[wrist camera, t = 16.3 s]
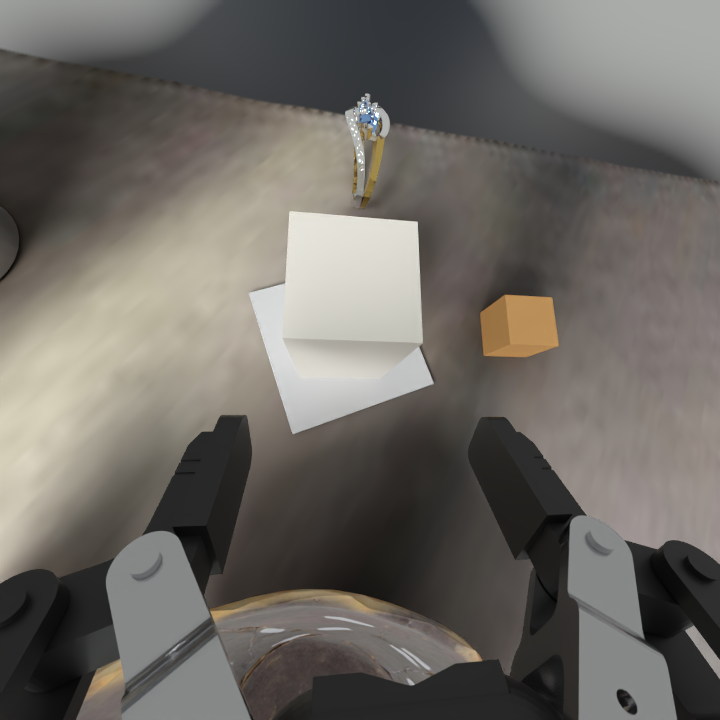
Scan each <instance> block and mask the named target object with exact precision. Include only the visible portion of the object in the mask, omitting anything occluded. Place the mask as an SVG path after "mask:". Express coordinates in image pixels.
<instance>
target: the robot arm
mask: <svg viewBox="0 0 720 720" xmlns="http://www.w3.org/2000/svg"><path fill="white" fill-rule="evenodd" d="M18 248H19V234H18V229H17V226H16V224H15V222H14V220H13V218H12V217H11V216H10V215H9V213H8V212H7V211H6V210H5V209H4V208H2V207H1V206H0V278H1V277H2V276H3V275H4V274H5V273H6V272H7V271H8V270H9V268H10V266H11V265H12V263H13V262H14V260H15V257H16V254H17V251H18ZM468 456H469V461H470V464H471V466H472V469H473V471H474V473H475V475H476V477H477V479H478V481H479V484H480V486H481V488H482V490H483V492H484V494H485V496H486V498H487V501H488V503H489V505H490V507H491V509H492V511H493V513H494V516H495V518H496V520H497V522H498V524H499V526H500V528H501V531H502V533H503V535H504V537H505V539H506V541H507V543H508V546H509V548H510V550H511V552H512V554H513V556H514V558H515V560H521V559H530V560H531V562H532V564H533V566H534V568H533V569H532V571H531V574H530V582H529V589H528V597H527V604H526V612H525V619H524V627H523V634H522V639H521V642H520V645H519V648H518V650H517V652H516V654H515V657H514V660H513V664H512V668H511V673H510V676H508V675H506V674H503V671H502V668H501V665H500V662H499V659H498V660H487V661H476V662H466V663H455V664H453V665H451V666H450V667H448V668H446V669H444V670H442V671H440V672H438V673H436V674H434V675H433V676H431V677H429V678H427V679H425V680H423V681H421V682H419V683H417V684H415V685H405V684H402V683H398V682H394V681H391V680H387V679H383V678H380V677H376V676H373V675H369V674H365V673H362V672H359V673H348V674H337V675H327V676H316V677H313V687H312V689H310V690H308V691H306V692H304V693H302V694H300V695H299V696H297V697H296V698H295V699H293V700H292V701H290V702H289V703H288V704H287V705H286V706H284V707H283V708H282V709H281V710H280V711H279V712H278V713H277V714H276V715H275V716H274V717H273V719H272V720H720V679H719V678H718V676H717V675H716V673H715V672H714V671H713V669H712V668H711V666H710V665H709V664H708V662H707V661H706V659H705V658H704V657H703V655H702V654H701V652H700V651H699V650H698V648H697V647H696V645H695V644H694V643H693V641H692V640H691V638H690V637H689V636H688V634H687V633H686V632H685V630H686V629H688V628H690V627H692V626H693V625H694V626H695V627H696V628H697V630H698V631H699V632H700V634H701V635H702V636H703V638H704V639H705V640H706V642H707V643H708V644H709V646H710V647H711V649H712V650H713V651H714V653H715V654H716V655H717V657H718V658H719V659H720V564H718V563H717V562H716V561H715V560H714V559H713V558H711V557H710V556H709V555H707V554H706V553H704V552H703V551H701V550H700V549H698V548H696V547H694V546H692V545H690V544H687V543H685V542H681V541H676V540H671V541H667V542H666V543H665V544H664V545H662V546H661V547H660V548H659V549H658V550H657V549H654V548H650V547H647V546H643V545H639V544H636V543H632V542H629V541H625V540H624V539H623V538H622V537H621V536H620V535H619V534H618V533H617V532H616V531H615V530H614V529H612V528H611V527H610V526H609V525H607V524H605V523H604V522H602V521H600V520H598V519H596V518H593V517H590V516H587V515H586V514H585V513H584V512H583V510H582V509H581V507H580V506H579V505H578V503H577V502H576V501H575V499H574V498H573V496H572V495H571V494H570V492H569V491H568V490H567V488H566V487H565V485H564V484H563V483H562V481H561V480H560V479H559V477H558V476H557V474H556V473H555V472H554V470H551V466H550V465H549V463H548V462H547V461H546V459H544V458H543V455H542V454H541V452H540V451H539V450H538V448H537V447H536V446H535V444H534V443H533V442H532V441H530V440H529V439H528V438H527V437H526V436H524V435H523V434H522V433H521V432H516V431H515V429H514V428H513V426H512V425H511V424H510V422H509V421H508V420H507V419H506V418H505V417H482V418H481V419H480V420H479V422H478V425H477V427H476V430H475V432H474V435H473V438H472V440H471V443H470V445H469V449H468ZM251 458H252V446H251V439H250V433H249V426H248V420H247V416H246V415H221V416H220V417H219V419H218V422H217V424H216V426H215V429H214V431H213V432H201V433H200V434H199V435H198V436H197V437H196V438H195V439H194V440H193V441H192V442H191V443H190V444H189V445H188V447H187V449H186V451H185V453H184V455H183V457H182V459H181V463H179V465H178V467H177V469H176V471H175V475H174V476H173V477H172V479H171V481H170V483H169V485H168V487H167V489H166V491H165V493H164V495H163V497H162V499H161V501H160V503H159V505H158V507H157V509H156V511H155V513H154V515H153V517H152V519H151V521H150V523H149V525H148V527H147V529H146V530H145V532H144V533H143V535H142V536H141V537H139V538H137V539H135V540H134V541H132V542H131V543H130V544H128V545H127V546H126V547H125V548H124V549H123V550H122V551H121V552H120V553H119V554H118V555H117V556H116V557H115V558H113V559H111V560H109V561H107V562H104V563H102V564H99V565H96V566H93V567H90V568H87V569H84V570H81V571H78V572H76V573H73V574H70V575H67V576H64V577H61V578H57V577H56V575H54V574H53V573H52V572H50V571H48V570H43V569H36V570H31V571H27V572H23V573H21V574H18V575H16V576H13V577H11V578H10V579H8V580H6V581H4V582H2V583H1V584H0V720H76V718H77V716H78V714H79V711H80V709H81V706H82V704H83V701H84V699H85V697H86V694H87V692H88V689H89V687H90V684H91V682H92V680H93V677H94V675H95V672H96V670H97V669H98V668H100V667H103V666H105V665H107V664H109V663H111V662H114V661H116V660H118V659H120V660H121V665H122V670H123V675H124V681H125V693H124V695H123V696H122V700H121V716H122V720H254V718H253V715H252V713H251V710H250V708H249V705H248V703H247V700H246V698H245V695H244V693H243V691H242V688H241V686H240V683H239V681H238V678H237V676H236V674H235V671H234V669H233V666H232V664H231V662H230V659H229V657H228V654H227V652H226V649H225V647H224V644H223V642H222V639H221V637H220V634H219V632H218V629H217V627H216V624H215V622H214V619H213V617H212V614H211V612H210V609H209V607H208V605H207V602H206V600H205V597H204V593H205V589H206V586H207V582H208V579H209V575H213V574H222V573H223V569H224V566H225V562H226V558H227V554H228V550H229V546H230V543H231V539H232V535H233V531H234V527H235V523H236V519H237V516H238V512H239V508H240V504H241V500H242V496H243V492H244V489H245V485H246V481H247V477H248V473H249V469H250V465H251Z"/></svg>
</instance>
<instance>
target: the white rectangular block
mask: <svg viewBox="0 0 720 720" xmlns="http://www.w3.org/2000/svg"><path fill="white" fill-rule="evenodd" d="M282 339H283V341H284V343H285V345H286V348H287V350H288V352H289V354H290V357H291V359H292V361H293V363H294V365H295V368H296V370H297V372H298V374H299V376H300V377H307V378H355V379H380V378H382V377H383V376H384V375H385V374H386V373H388V372H389V371H390V370H391V369H392V368H394V367H395V366H396V365H397V364H398V363H400V362H401V361H402V360H403V359H404V358H405V357H407V356H408V355H409V354H410V353H411V352H413V351H414V350H415V349H416V348H417V347H419V346H420V345H421V344H422V343H423V336H422V313H421V289H420V266H419V243H418V222H414V221H402V220H389V219H377V218H365V217H353V216H341V215H329V214H316V213H304V212H292V211H290V213H289V230H288V247H287V264H286V281H285V298H284V315H283V332H282Z"/></svg>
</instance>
